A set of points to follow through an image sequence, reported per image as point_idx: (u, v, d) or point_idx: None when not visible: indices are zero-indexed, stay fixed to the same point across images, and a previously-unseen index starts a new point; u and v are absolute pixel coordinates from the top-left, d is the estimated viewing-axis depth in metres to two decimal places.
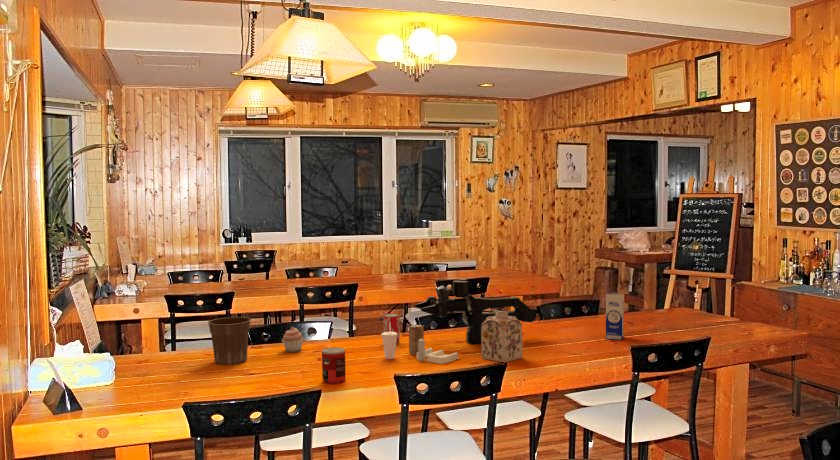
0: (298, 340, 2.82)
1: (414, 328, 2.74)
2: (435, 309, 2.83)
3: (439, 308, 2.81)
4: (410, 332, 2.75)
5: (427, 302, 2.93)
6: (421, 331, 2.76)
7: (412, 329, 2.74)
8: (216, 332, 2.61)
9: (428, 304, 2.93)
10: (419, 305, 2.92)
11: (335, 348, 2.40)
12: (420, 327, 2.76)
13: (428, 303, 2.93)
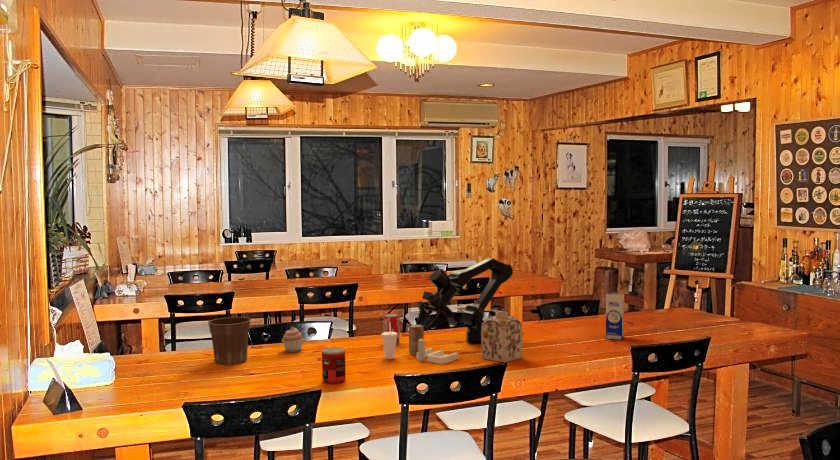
0: (298, 340, 2.82)
1: (414, 328, 2.74)
2: (440, 317, 2.76)
3: (444, 314, 2.74)
4: (410, 332, 2.75)
5: (422, 311, 2.84)
6: (421, 331, 2.76)
7: (412, 329, 2.74)
8: (216, 332, 2.61)
9: (424, 312, 2.85)
10: (419, 320, 2.83)
11: (335, 348, 2.40)
12: (420, 327, 2.76)
13: (424, 311, 2.85)
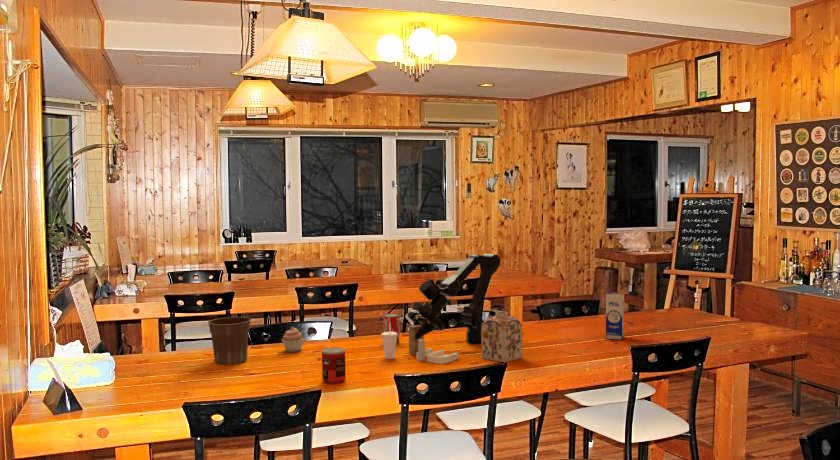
0: (298, 340, 2.82)
1: (414, 328, 2.74)
2: (426, 327, 2.76)
3: (429, 324, 2.74)
4: (410, 332, 2.75)
5: (416, 323, 2.79)
6: None
7: (412, 329, 2.74)
8: (216, 332, 2.61)
9: (418, 324, 2.80)
10: None
11: (335, 348, 2.40)
12: (420, 327, 2.76)
13: (418, 323, 2.80)
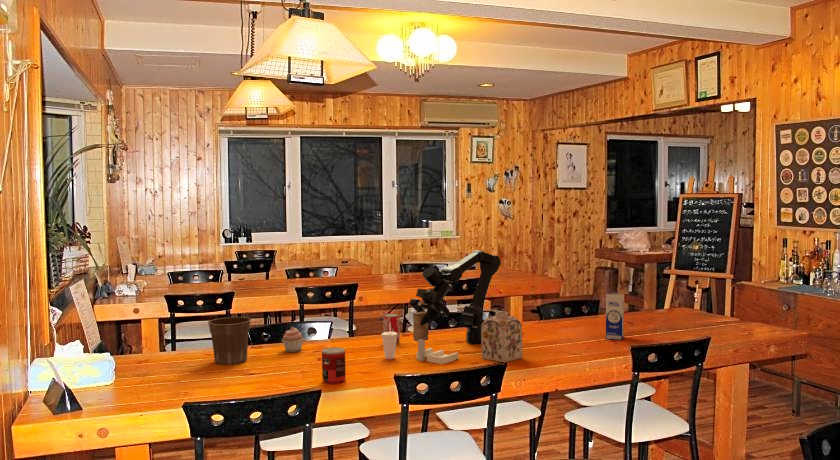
0: (298, 340, 2.82)
1: (419, 315, 2.70)
2: (431, 313, 2.73)
3: (435, 311, 2.71)
4: (415, 319, 2.71)
5: (420, 310, 2.76)
6: None
7: (417, 316, 2.71)
8: (216, 332, 2.61)
9: None
10: None
11: (335, 348, 2.40)
12: None
13: (421, 310, 2.76)
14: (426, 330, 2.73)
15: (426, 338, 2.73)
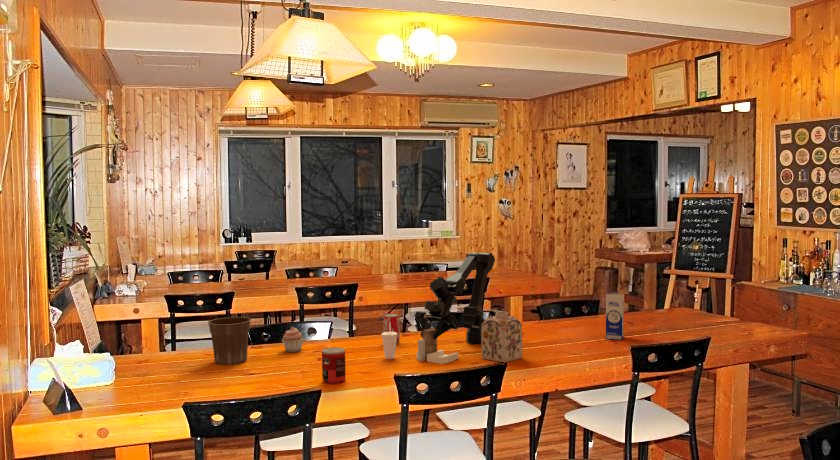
0: (298, 340, 2.82)
1: (430, 332, 2.66)
2: (442, 326, 2.68)
3: (447, 324, 2.67)
4: (425, 336, 2.67)
5: (425, 323, 2.72)
6: None
7: (428, 333, 2.66)
8: (216, 332, 2.61)
9: (427, 323, 2.73)
10: None
11: (335, 348, 2.40)
12: (434, 331, 2.69)
13: (426, 322, 2.73)
14: (435, 347, 2.69)
15: None
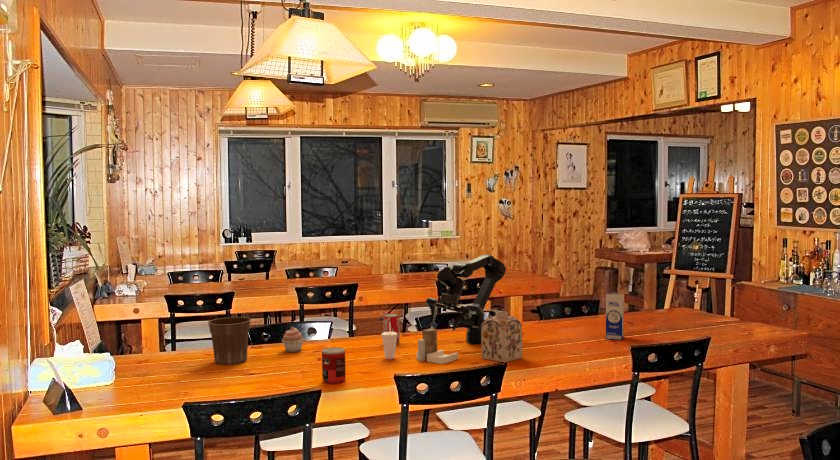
0: (298, 340, 2.82)
1: (430, 332, 2.66)
2: None
3: (465, 315, 2.76)
4: (425, 336, 2.67)
5: (434, 310, 2.80)
6: (435, 335, 2.69)
7: (427, 333, 2.66)
8: (216, 332, 2.61)
9: (435, 309, 2.81)
10: (433, 319, 2.79)
11: (335, 348, 2.40)
12: (434, 331, 2.69)
13: (435, 309, 2.81)
14: (435, 347, 2.69)
15: None
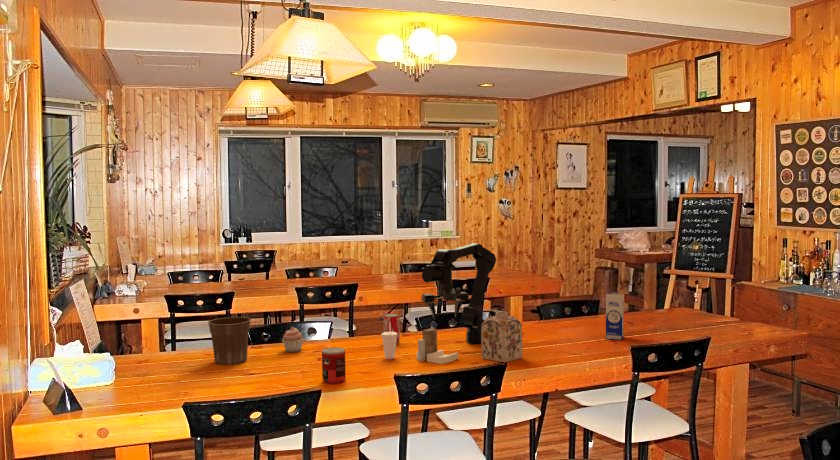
0: (298, 340, 2.82)
1: (430, 332, 2.66)
2: None
3: None
4: (425, 336, 2.67)
5: None
6: (435, 335, 2.69)
7: (427, 333, 2.66)
8: (216, 332, 2.61)
9: None
10: None
11: (335, 348, 2.40)
12: (434, 331, 2.69)
13: None
14: (435, 347, 2.69)
15: None
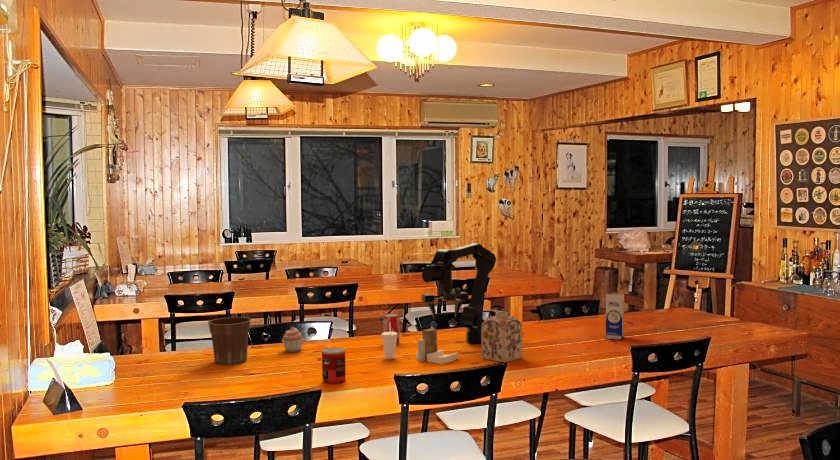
0: (298, 340, 2.82)
1: (430, 332, 2.66)
2: None
3: None
4: (425, 336, 2.67)
5: None
6: (435, 335, 2.69)
7: (427, 333, 2.66)
8: (216, 332, 2.61)
9: None
10: None
11: (335, 348, 2.40)
12: (434, 331, 2.69)
13: None
14: (435, 347, 2.69)
15: None
